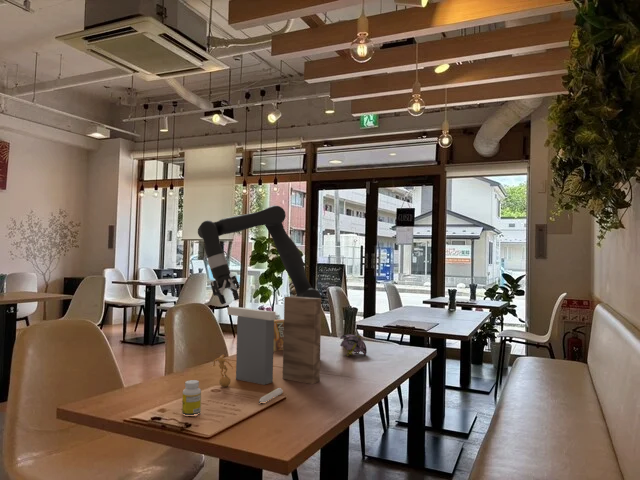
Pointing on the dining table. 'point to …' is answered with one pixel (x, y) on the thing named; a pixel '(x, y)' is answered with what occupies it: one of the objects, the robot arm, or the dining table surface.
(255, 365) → the grey rectangular box
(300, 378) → the tall wooden block
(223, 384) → the figurine
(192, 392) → the supplement bottle
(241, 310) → the bar
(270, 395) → the marker
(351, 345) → the decorative flower
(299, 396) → the dining table surface
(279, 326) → the candy box
